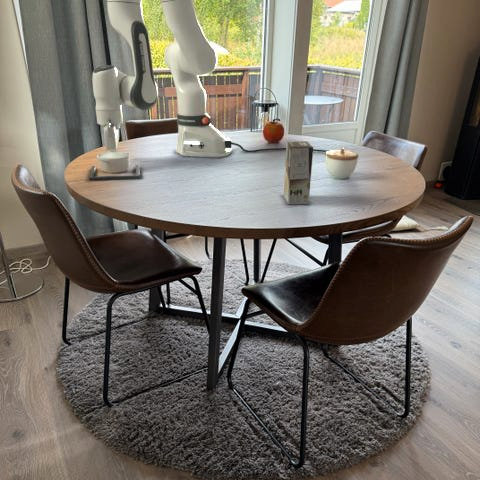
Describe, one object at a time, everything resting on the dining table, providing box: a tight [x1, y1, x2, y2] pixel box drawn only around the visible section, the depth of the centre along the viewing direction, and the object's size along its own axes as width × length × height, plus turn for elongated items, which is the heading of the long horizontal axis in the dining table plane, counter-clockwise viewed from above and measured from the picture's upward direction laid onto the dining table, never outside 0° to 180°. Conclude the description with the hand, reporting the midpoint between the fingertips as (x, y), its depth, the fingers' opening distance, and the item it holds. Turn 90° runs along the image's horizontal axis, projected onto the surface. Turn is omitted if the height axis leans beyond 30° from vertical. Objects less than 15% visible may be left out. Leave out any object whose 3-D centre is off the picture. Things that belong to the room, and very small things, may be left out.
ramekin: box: [96, 150, 131, 174], centre depth 173 cm, size 11×11×5 cm
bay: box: [88, 164, 141, 182], centre depth 170 cm, size 15×16×1 cm
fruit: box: [262, 117, 285, 144], centre depth 216 cm, size 10×10×10 cm
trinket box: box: [325, 147, 359, 180], centre depth 168 cm, size 11×11×9 cm
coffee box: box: [283, 140, 314, 205], centre depth 144 cm, size 9×6×16 cm
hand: (114, 158), depth 180 cm, fingers closed
